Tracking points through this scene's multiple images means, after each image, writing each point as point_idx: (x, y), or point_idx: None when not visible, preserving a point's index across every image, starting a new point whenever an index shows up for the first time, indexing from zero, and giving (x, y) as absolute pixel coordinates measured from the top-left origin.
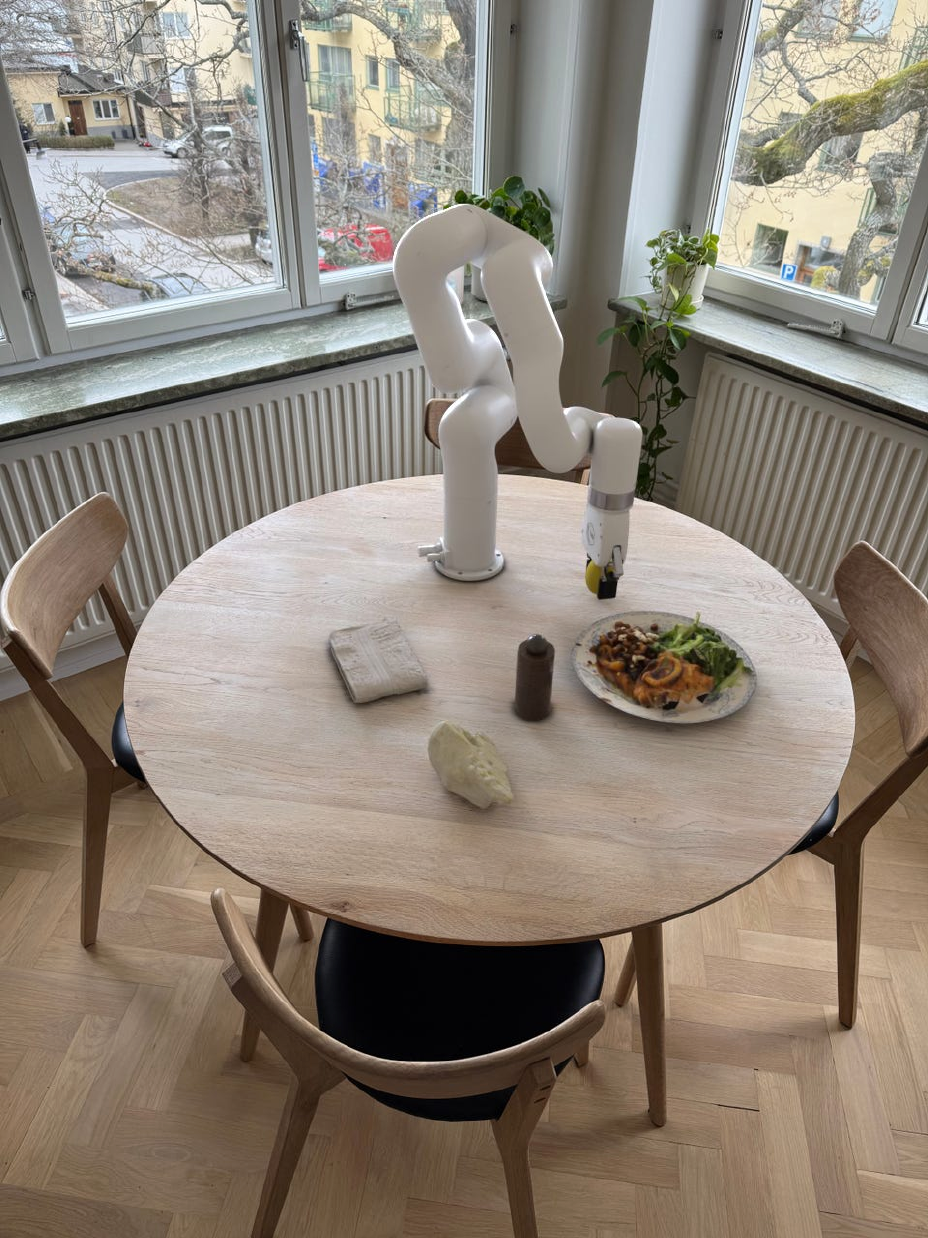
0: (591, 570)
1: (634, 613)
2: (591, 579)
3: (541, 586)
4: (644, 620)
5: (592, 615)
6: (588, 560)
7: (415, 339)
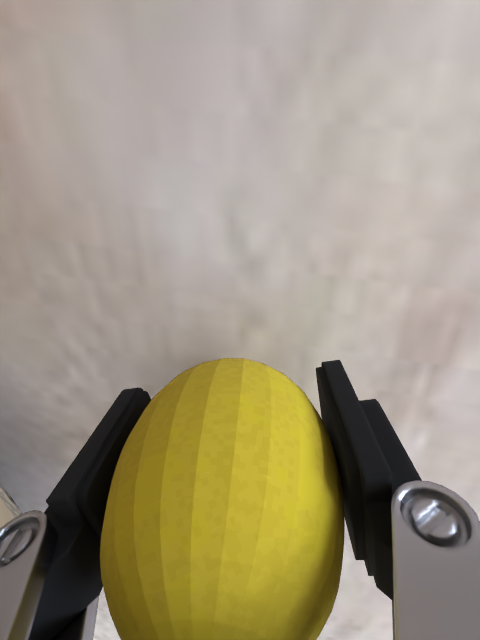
0: (147, 486)
1: (8, 503)
2: (143, 427)
3: (361, 52)
4: (1, 512)
5: (77, 332)
6: (371, 479)
7: None
